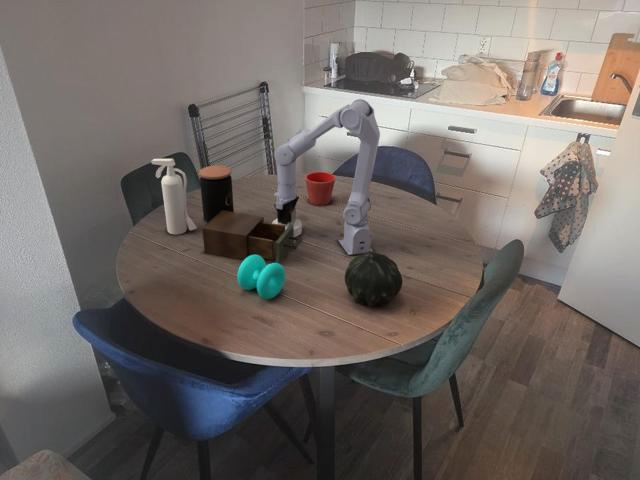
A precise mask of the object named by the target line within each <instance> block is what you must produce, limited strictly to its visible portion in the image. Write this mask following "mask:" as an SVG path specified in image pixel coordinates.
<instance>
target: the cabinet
mask: <svg viewBox="0 0 640 480" xmlns="http://www.w3.org/2000/svg"><path fill="white" fill-rule="evenodd" d="M261 222H265V216H260V215H256V214H255V215H254V214H249V213H243V212H236V211H234V212H230V211H224V210H222V211H221V212H220V213H219V214H218V215H216V216H215V217H214V218H213V219H212V220H211V221H210V222H209V223H207V222H206V224H205V225H204V226H203V227H202V228H201V229H202V239H203V249H204V254H210V255H214V256H220V257H226V258H231V259H236V260H241V261H244V260H245V259H246V258H247V257H248V256H250V255H248V241H247V237H248V236H249V235H250V233H251V232H252V231H253V230H254V229H255V228H256V227H257V226H258V225H259V224H260V223H261Z"/></svg>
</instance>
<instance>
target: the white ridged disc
mask: <svg viewBox="0 0 640 480" xmlns="http://www.w3.org/2000/svg"><path fill="white" fill-rule="evenodd" d="M271 223H273V224H278V217H277V218H276V219H273V221H272V222H271ZM279 225H281V224H279ZM293 225H294V237H296V238H298V237H300V235H301V234H302V232H303V229H302V228H303V223H302V221H301V220H300V219H298V218H296V222H295V223H294V224H293ZM288 227H289V226H287V225H285V230H286V229H287V228H288Z"/></svg>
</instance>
